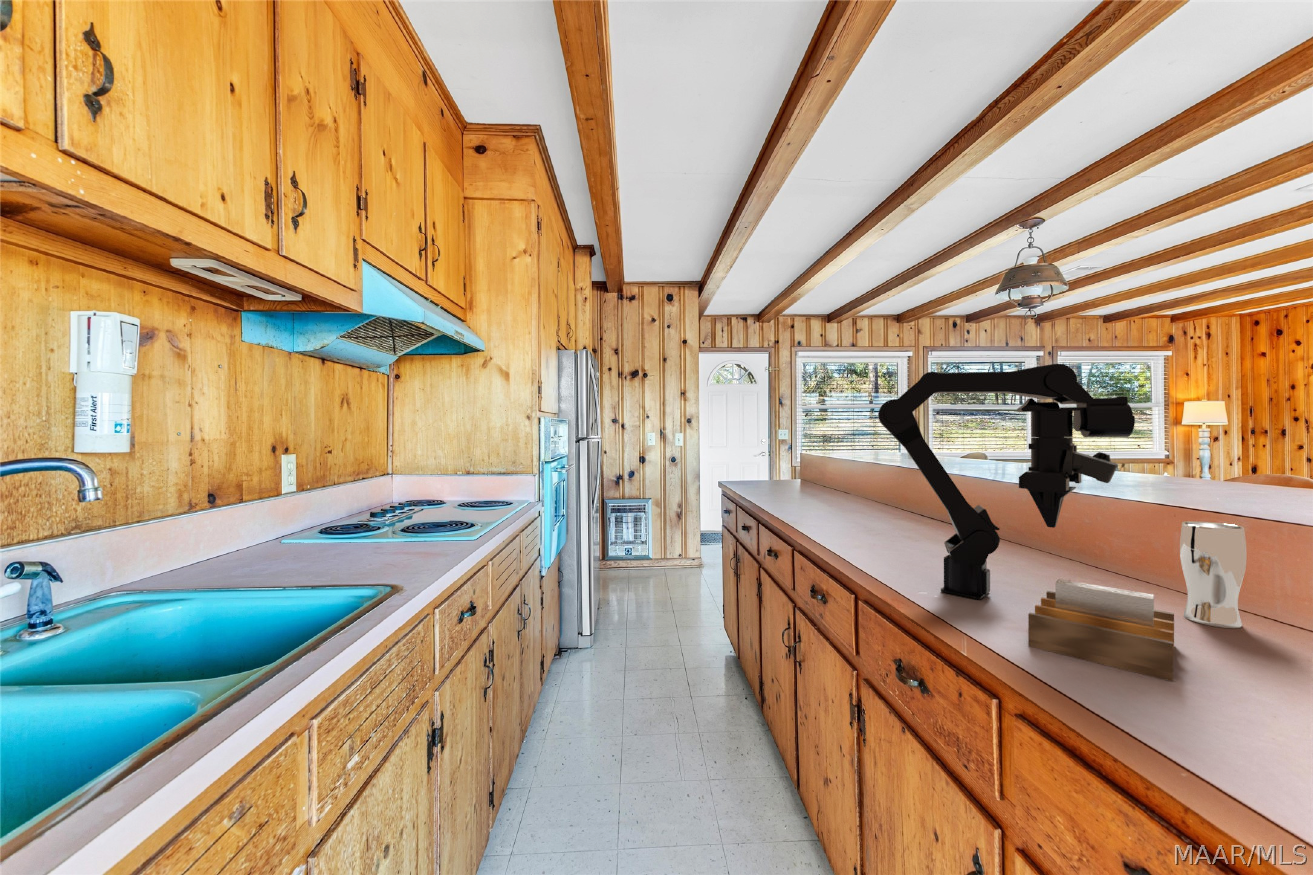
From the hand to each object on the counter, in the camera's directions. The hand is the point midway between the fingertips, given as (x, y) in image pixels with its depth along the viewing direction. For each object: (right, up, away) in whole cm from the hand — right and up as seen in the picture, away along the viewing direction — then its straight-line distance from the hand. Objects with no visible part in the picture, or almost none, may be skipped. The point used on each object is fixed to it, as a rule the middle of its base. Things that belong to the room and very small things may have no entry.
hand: (1051, 527), depth 88 cm
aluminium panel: (-7, -12, -18) cm, 23 cm away
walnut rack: (-7, -13, -18) cm, 23 cm away
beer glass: (+18, -13, -9) cm, 24 cm away
